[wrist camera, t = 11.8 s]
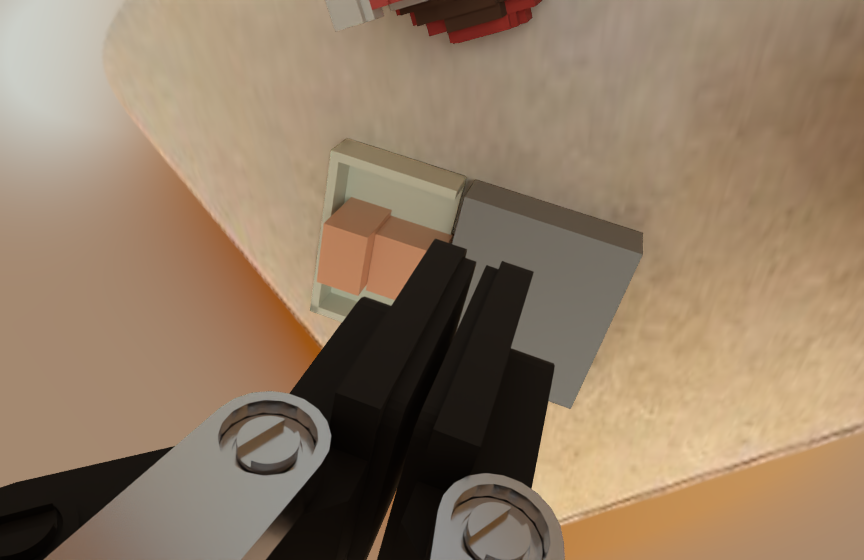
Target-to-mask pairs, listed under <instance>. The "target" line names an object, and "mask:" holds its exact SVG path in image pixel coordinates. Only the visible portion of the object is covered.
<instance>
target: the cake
mask: <svg viewBox="0 0 864 560" xmlns="http://www.w3.org/2000/svg"><path fill="white" fill-rule="evenodd" d="M541 1H542V0H325V2H326V5H327V8H328V11H329V14H330V17H331V20H332V23H333V26H334V29H335V32H336V31H340V30H343V29H346V28H350V27H353V26H356V25H359V24H363V23H365V22H368V21H372V20H375V19H378V18H380V17H383V16H384V13H383V10H382V7H383V6H386V5H389V7H390V10H391V11H394V10H396V13H397V16H398V15H404V14H407V13H410V16H411V20H412V23H413V26H415V25H417V26H420V25H424V24H426V26H427V29H428V33H429V36H432V35H436V34H439V33H443V32H446V31H447V33H448V35H449V39H450V43H453V44H455V43H461V42H464V41H468V40H472V39H475V38H479V37H483V36H486V35H490V34H493V33H497V32H501V31H504V30H508V29H511V28H513V27H516V26H519V25H520V24H522V23H526V22H528V21H529V20H530V19H531V18H532V13H531V9H530V8H531V7H534V6H536V5H537V4H538V3H540V2H541Z"/></svg>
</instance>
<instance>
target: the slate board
mask: <svg viewBox="0 0 864 560" xmlns="http://www.w3.org/2000/svg"><path fill="white" fill-rule="evenodd" d="M452 244H453V245H456V246H459V247H462V248H465V249H467V254H466V258H467V259H470V260H473V261H476V267H475V270H474V274H473V277H472V281H471V284H470V287H469V291H468V294H467V297H466V301H465V304H464V307H463V311H462V314H461V317H460V321H459V324H458V327H459V325H460V323H461V320H462V318H463V316H464V314H465V311H466V309H467V307H468V305H469V302H470V300H471V298H472V296H473V294H474V291H475V289H476V287H477V285H478V282H479V280H480V278H481V276H482V273H483V271H484V269H485V267H486V265H488V266H491V267H494V268H497V269H499V267H500V264H501V262H502V261H504V262H507V263H510V264H513V265H516V266H519V267H522V268H525V269H528V270H531V271H534V273H533V277H532V280H531V283H530V286H529V290H528V293H527V296H526V300H525V303H524V306H523V309H522V313H521V316H520V319H519V323H518V326H517V329H516V332H515V336H514V339H513V342H512V346H511V348H512V349H515V350H518V351H520V352H523V353H526V354H529V355H532V356H534V357H537V358H540V359H543V360H546V361H549V362H551V363H554V365H555V368H554V374H553V380H552V385H551V390H550V395H549V400H548V401H550V402H552V403H555V404H558V405H561V406H563V407H566V408H569V409H571V407H572V405H573V403H574V401H575V399H576V397H577V394H578V392H579V390H580V388H581V386H582V384H583V382H584V379H585V377H586V375H587V373H588V371H589V369H590V367H591V364H592V362H593V360H594V358H595V356H596V354H597V352H598V349H599V347H600V345H601V343H602V341H603V339H604V337H605V334H606V332H607V330H608V328H609V326H610V324H611V322H612V319H613V317H614V315H615V313H616V311H617V309H618V307H619V304H620V302H621V300H622V298H623V296H624V294H625V292H626V289H627V287H628V285H629V283H630V281H631V279H632V277H633V274H634V272H635V270H636V268H637V266H638V264H639V262H640V259H641V257H642V255H643V233H641V232H638V231H635V230H631V229H628V228H625V227H622V226H619V225H616V224H613V223H610V222H607V221H603V220H600V219H597V218H594V217H591V216H588V215H585V214H582V213H578V212H575V211H572V210H569V209H566V208H563V207H560V206H557V205H554V204H550V203H547V202H544V201H541V200H538V199H535V198H532V197H529V196H526V195H522V194H519V193H516V192H513V191H510V190H507V189H504V188H501V187H498V186H494V185H491V184H488V183H485V182H482V181H479V180H475V181H474V183H473V184H472V186H471V187H470V189H469V191H468V192H467V194H466V195H465V197H464V201H463V205H462V208H461V212H460V216H459V220H458V223H457V227H456V231H455V235H454V238H453V242H452ZM458 327H457V329H458ZM456 332H457V331H456Z"/></svg>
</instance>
